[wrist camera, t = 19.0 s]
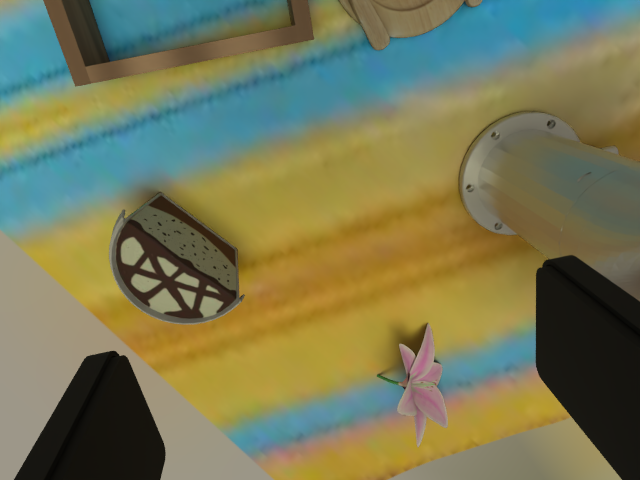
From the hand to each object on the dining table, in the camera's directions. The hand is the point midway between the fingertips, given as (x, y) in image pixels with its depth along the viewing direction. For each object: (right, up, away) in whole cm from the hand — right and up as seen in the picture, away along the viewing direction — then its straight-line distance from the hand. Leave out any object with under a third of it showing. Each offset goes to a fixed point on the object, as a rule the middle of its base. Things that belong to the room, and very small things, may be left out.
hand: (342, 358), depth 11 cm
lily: (+10, -12, +46) cm, 48 cm away
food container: (-15, +2, +37) cm, 40 cm away
